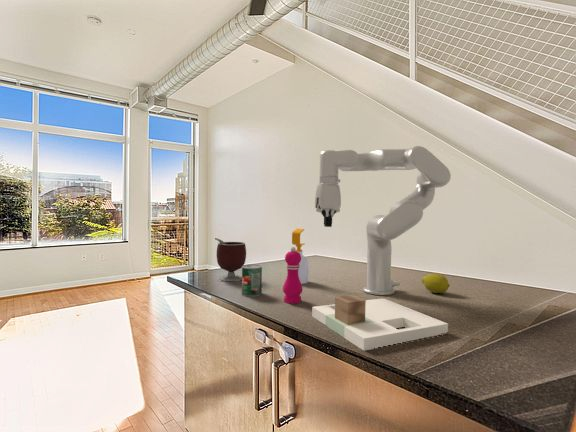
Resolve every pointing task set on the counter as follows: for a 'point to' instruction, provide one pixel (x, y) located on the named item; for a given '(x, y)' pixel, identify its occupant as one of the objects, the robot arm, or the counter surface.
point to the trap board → (381, 324)
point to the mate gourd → (231, 258)
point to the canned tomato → (251, 280)
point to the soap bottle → (304, 261)
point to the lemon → (436, 283)
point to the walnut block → (350, 309)
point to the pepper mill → (292, 278)
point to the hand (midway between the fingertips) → (327, 226)
